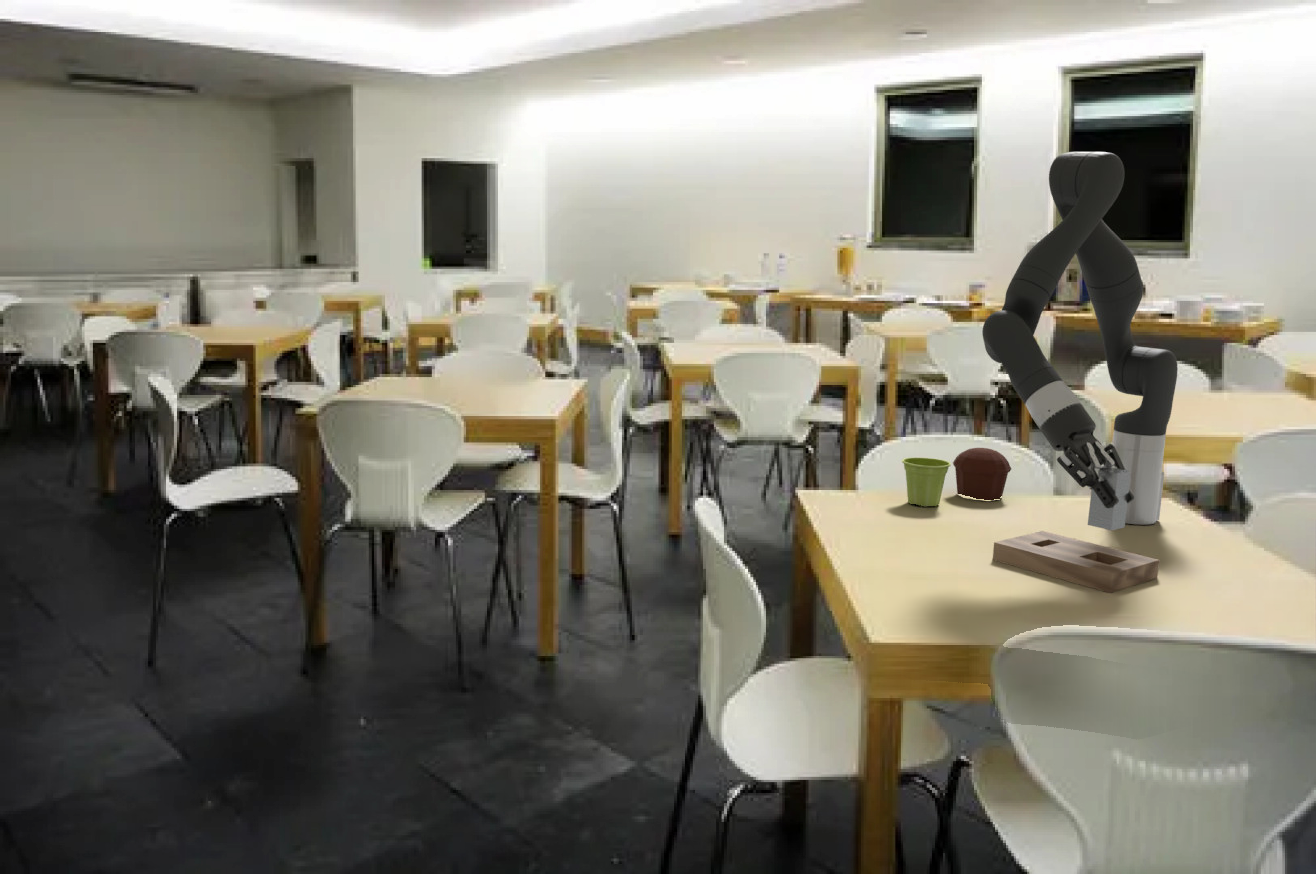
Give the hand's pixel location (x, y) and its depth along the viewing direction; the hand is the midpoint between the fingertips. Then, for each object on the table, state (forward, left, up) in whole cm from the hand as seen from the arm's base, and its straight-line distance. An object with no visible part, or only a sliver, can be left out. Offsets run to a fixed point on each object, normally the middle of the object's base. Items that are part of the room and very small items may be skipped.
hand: (1120, 503), depth 178 cm
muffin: (-23, -53, -13) cm, 59 cm away
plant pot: (-7, -52, -13) cm, 54 cm away
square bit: (0, -2, -4) cm, 5 cm away
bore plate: (+1, -7, -12) cm, 14 cm away
